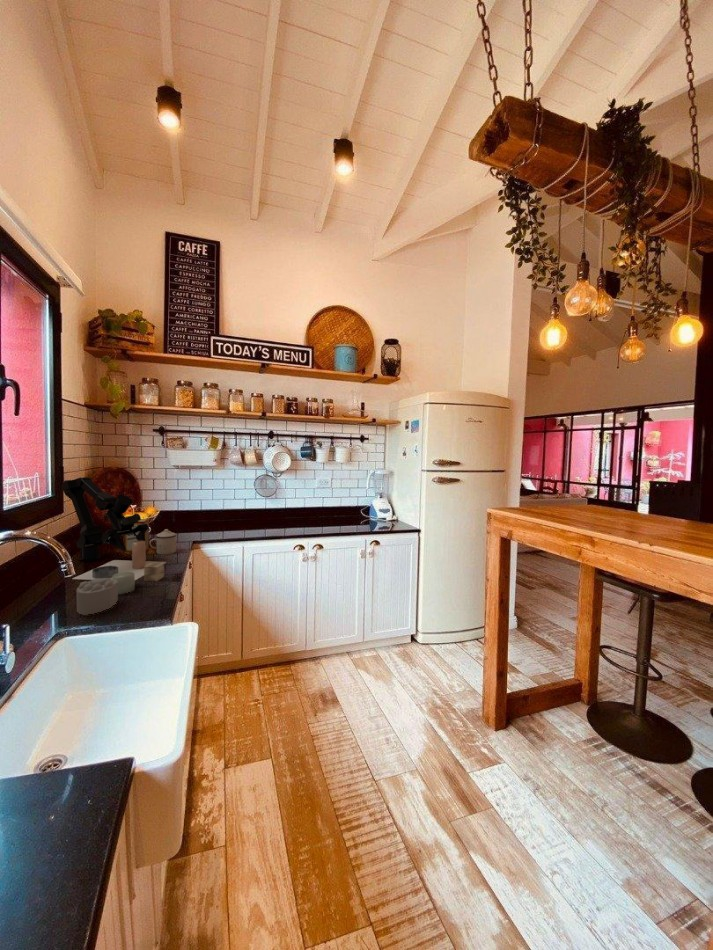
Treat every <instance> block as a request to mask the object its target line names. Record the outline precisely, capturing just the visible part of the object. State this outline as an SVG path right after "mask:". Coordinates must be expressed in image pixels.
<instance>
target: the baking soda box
mask: <svg viewBox="0 0 713 950" xmlns="http://www.w3.org/2000/svg"><path fill="white" fill-rule="evenodd" d="M149 520H150V519H149V518H141V520H139V521H138V522H137V523H135V524H134V527H132V529H135V528H136V527H137V525H140V524H147V525H148V526H149V528H148V530H147V531H146V532H145V541H146V552H148V550H149V549H150V544H149V543H150V537H149V536H150V531H149V529H150V523H149V522H150V521H149ZM135 537H136V536H135V535H134V534H128V535H123V544H124V546H125V548H126V551H123V553H124V552H129V553H128V554H132V542H134V541H138V540H137V539H136V538H135Z"/></svg>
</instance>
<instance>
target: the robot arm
mask: <svg viewBox="0 0 713 950" xmlns="http://www.w3.org/2000/svg"><path fill="white" fill-rule="evenodd" d="M61 490H62V491H63V494H64V495H65V496H66V497H67V498H69V499H70V500H71V502H72V504H73V508H74V510H75V514H76V516H77V520H78V522H79V524H80V527H81V528H80V531H79V538H78V540H77V541H76V543H75V544H76V548H78V549H80V559H82V560H83V561H82V562H94V561H96V560H99V559H101V557H102V556H100V549H99V546H102V545H103V544H107V545H110V546H113V547H115V548H117V549H119V550H122V551H123V552H124V551H126V548H125V546H124V541H123V540H122V539H121V536H122V537H124V535H128V534H134V535H135V536H136V537H135V538H136V539H137V540H138V541H145V532H146V531H147V530H148V528H149V529H150V525H149V526H148V525H147V524H140V525H137V527H136V528H135V529H132V527H134V524H135V523H137V522H138V521H139V520H141V519H142V518H141V515H140V514H139V513H134V514H133V515H128V516H125V515H124V514H125V513H127V511H128V510H129V508H130V507H131V505H132V504H133V499H132V498H131V497H129V496H127V495H125V494H124V493H119V494H117V496H114V495H112V494H110V493H107V492H105V491H104V490H103V489H101V487H99V485H97V484H96V483H95V482H94V481H93V480H92V478H91V477H89V476H84V477H78V478H75V479H70V480H69V479H68V480H64V481H63V482H62V483H61ZM85 493H87V494H88V496H90V497H91V498H92V499H93V500H94V505H95V506H96V508H98V510H99V511H100V512H103V511H106V512H104V516H103V519H104V520H107V519H108V521H109V522H110V524H111V526H110V528H111V529H107V530H105V532H103V529H102V527H101V525H99V524H95V523H94V520H93V517H92V515H91V512H90V509H89V507H88V504H87V501H86V499H85ZM145 545H146V541H145Z"/></svg>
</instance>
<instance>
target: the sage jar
mask: <svg viewBox="0 0 713 950" xmlns="http://www.w3.org/2000/svg"><path fill="white" fill-rule="evenodd" d="M112 580H117V586H118V595H124V594H123V593H127V594H129V593H128V592H130V593H132V592H131V591H133V590H134V589H135V587H136V585H135V584H136V583H135V582H136V580H135V579H134V573H133V572H122V573H117V574H115V575H113V576H112ZM135 590H136V589H135ZM135 590H134V591H135ZM134 591H133V592H134Z"/></svg>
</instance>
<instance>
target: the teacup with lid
mask: <svg viewBox="0 0 713 950" xmlns="http://www.w3.org/2000/svg"><path fill="white" fill-rule="evenodd" d="M155 535H156V536H155V537H156V538H152V539H151V540H150V539H149V547H150V548H152V549H155V550H156V553H157V554H158V555H171V554H174V553H176V549H177V548H176V544H177V543H176V542H177V540H176V538H177V534H176V533H175V532H172V531H170V530H169V529H168V528H165V529H164V530H163V531H161V532H160V533H157V534H155ZM153 541H156V546H153V545H152V542H153Z"/></svg>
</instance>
